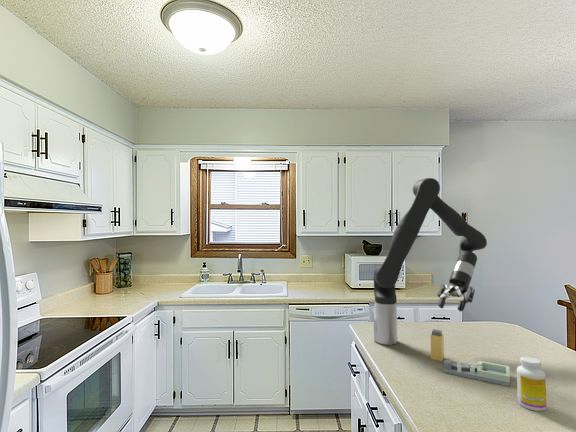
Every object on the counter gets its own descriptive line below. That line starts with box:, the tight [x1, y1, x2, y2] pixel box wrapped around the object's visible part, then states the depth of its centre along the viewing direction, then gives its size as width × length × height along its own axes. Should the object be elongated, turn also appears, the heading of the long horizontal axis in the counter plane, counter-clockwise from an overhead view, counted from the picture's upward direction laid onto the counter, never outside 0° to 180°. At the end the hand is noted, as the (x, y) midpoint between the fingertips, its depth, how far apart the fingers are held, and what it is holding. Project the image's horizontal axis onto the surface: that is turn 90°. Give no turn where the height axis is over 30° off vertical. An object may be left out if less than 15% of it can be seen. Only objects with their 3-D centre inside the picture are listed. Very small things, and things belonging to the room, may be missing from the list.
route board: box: [443, 359, 511, 387], centre depth 114 cm, size 19×9×3 cm, turn 57°
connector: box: [430, 328, 445, 362], centre depth 128 cm, size 4×4×10 cm
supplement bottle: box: [516, 356, 548, 412], centre depth 94 cm, size 7×7×13 cm
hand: (449, 308), depth 134 cm, fingers open, 8 cm apart
